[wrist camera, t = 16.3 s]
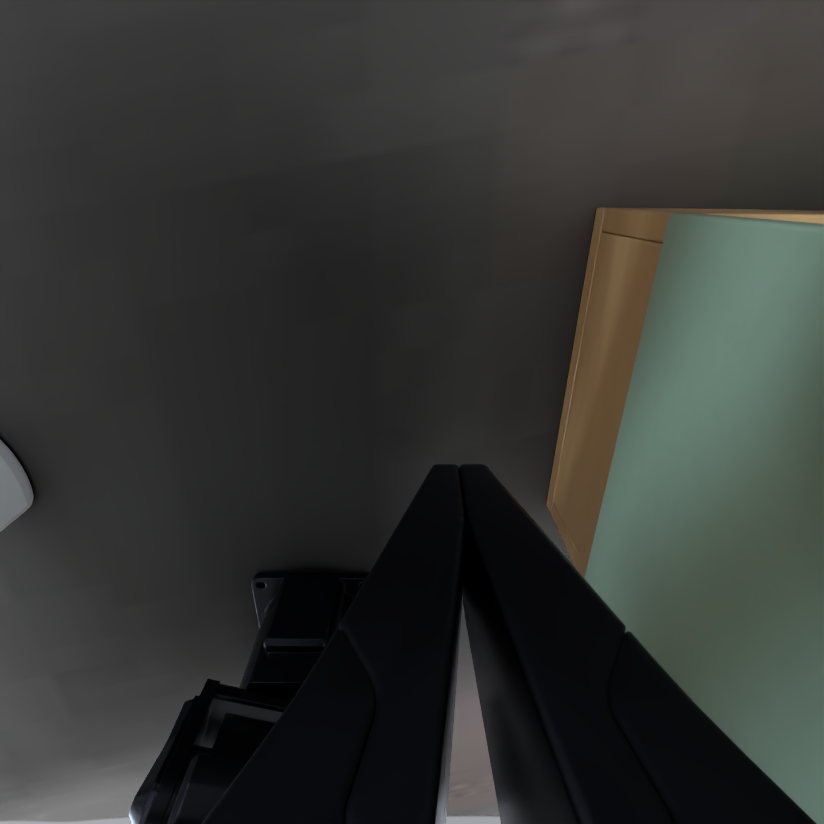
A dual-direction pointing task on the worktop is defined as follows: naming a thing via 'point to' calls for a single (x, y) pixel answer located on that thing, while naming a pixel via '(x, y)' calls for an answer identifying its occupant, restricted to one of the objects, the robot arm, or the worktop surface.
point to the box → (611, 358)
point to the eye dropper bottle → (12, 488)
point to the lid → (729, 488)
